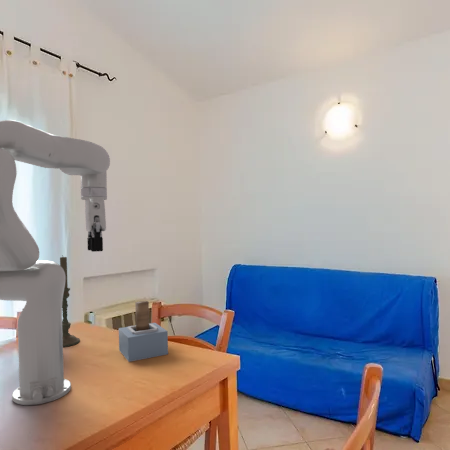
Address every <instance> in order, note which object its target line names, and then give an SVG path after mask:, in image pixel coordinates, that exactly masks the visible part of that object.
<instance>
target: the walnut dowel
mask: <svg viewBox="0 0 450 450" xmlns="http://www.w3.org/2000/svg"><path fill="white" fill-rule="evenodd" d="M149 303H150V302H149V301H147V300H140V301H136V302H135V304H134V305H135V325H136V331H142V330H148V329H149V323H150V310H149V309H150V308H149V307H150V305H149Z"/></svg>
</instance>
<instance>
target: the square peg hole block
mask: <svg viewBox="0 0 450 450" xmlns="http://www.w3.org/2000/svg"><path fill="white" fill-rule="evenodd" d="M118 350H119V352H120V353H121V354H122V355H123V357H124V358H125V359H126V360H127V362H130V363H131V362H134V361H140V360H141V361H142V360H145V359H151V358H154V357H160V356H166V355H169V341H168V330H166V329H165V328H164V327H162V326H161V325H159V323H156V322H149V329H148V330H142V331H136V324H135V325H129V326H125V327H118Z"/></svg>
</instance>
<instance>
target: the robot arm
mask: <svg viewBox="0 0 450 450" xmlns="http://www.w3.org/2000/svg"><path fill="white" fill-rule="evenodd" d="M16 162H20V163H24V164H30V165H33V166H36V167H40V168H45V169H56V170H57V169H59V170H60V171H61V172H62V173H64V174H66V175H68V176H80V200H82V201H84V203H85V204H84V207H85V208H84V214H85V229H86V231H87V251H91V252H92V253H93V252H96V253H97V252H103V250H104V244H103V243H104V240H103V239H104V238H103V232H105V231H106V230H107V221H106V219H107V218H106V205H105V204H106V203H105V201H107V200H108V186H107V182H108V181H107V178H108V177H107V171H108V169H109V168H110V165H111V158H110V155H109V152H108V151H107V150H106V149H105V148H104V147H103V146H101V145H100V144H97V143H95V142H92V141H89V140H83V139H80V138H79V139H78V138H73V137H68V136H64V135H58V134H57V135H56V134H52V133H49V132H47V131H44V130H42V129H39V128H37V127H35V126H32V125H29V124H26V123H24V122H22V121H18V120H13V119H4V120H3V119H2V120H0V301H7V302H8V301H10V302H12V301H13V302H14V301H16V302H19V301H21V302H26V303H25V305H24V306H23V308H24V309H23V308H22V311H21V312H20V314H19V316H18V320H17V341H18V342H17V344H18V346H17V347H18V349H17V351H18V377H19V378H18V379H19V380H18V381H19V383H18V384H19V387H17V388H16V389H14V391H13V392H12V394H11V396H12V397H11V399H12V401H13V402H14V403H15V404H17V405H21V406H23V405H24V406H33V405H35V406H36V405H41V404H45V403H49V402H53V401H56V400H58V399H60V398H62V397H64V396H65V395H67V394H68V393H69V392H70V391H71V388H72V383H71V381H69V380H68V379H66V378H65V376H64V375H65V374H64V347H63V335H62V321H63V315H62V314H63V313H62V312H63V311H62V301H63V293H64V288H65V280H66V276H65V272H64V270H63V268H62V267H61V266H60V263H59V264H58V263H57V262H55V261H52V260H44V259H43V260H42V259H40V260H39V258H40V248H39V246H38V244H37V242H36V240H35V239H34V237H33V235H32V234H31V232H30V231H29V230H28V228H27V227H26V226H25V224H24V222H23V221H22V220H21V218H20V217H19V216H18V214H17V212H16V210H15V207H14V206H13V205H14V204H13V195H14V189H15V183H16V179H17V174H18V171H17V164H16Z"/></svg>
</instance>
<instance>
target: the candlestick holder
mask: <svg viewBox="0 0 450 450" xmlns="http://www.w3.org/2000/svg"><path fill="white" fill-rule="evenodd" d="M59 265H60V266H61V267H62V268H63V270H64V272H65V276H66V280H65V288H64V293H63V301H62V335H63V348H66V347H71V346H74V345H77V344H79V343H80V341H81V340H80V337H79V338H78V337H76V336H75V335H73V334H71V333H70V332H69V330H70V328H71V322H69V320H68V307H69V304H68V298H69V297H70V293H69V292H70V291H71V287H69V286H68V257H66V256H64V255H61V256H60V257H59Z"/></svg>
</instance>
